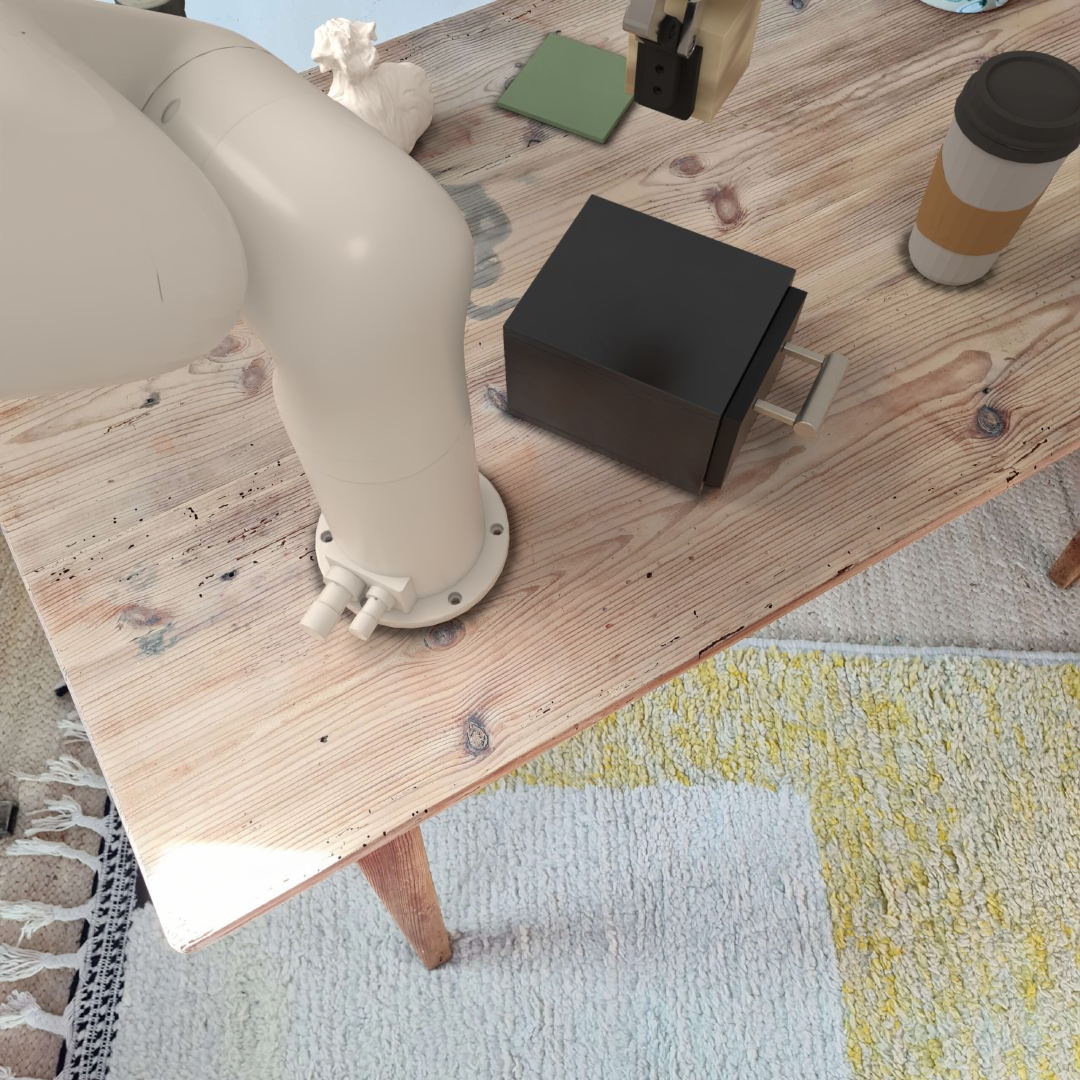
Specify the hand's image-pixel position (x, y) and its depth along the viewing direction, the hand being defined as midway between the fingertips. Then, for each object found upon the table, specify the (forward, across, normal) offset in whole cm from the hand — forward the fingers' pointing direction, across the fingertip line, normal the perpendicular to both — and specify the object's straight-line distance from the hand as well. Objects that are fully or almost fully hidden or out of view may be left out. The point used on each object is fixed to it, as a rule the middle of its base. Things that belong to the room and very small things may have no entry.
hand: (687, 72), depth 51 cm
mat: (+23, -21, -18) cm, 36 cm away
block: (0, 0, 0) cm, 0 cm away
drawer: (+22, +4, +5) cm, 23 cm away
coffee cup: (+23, -18, +16) cm, 34 cm away
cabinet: (+23, +4, +1) cm, 23 cm away
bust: (+23, -7, -29) cm, 38 cm away
